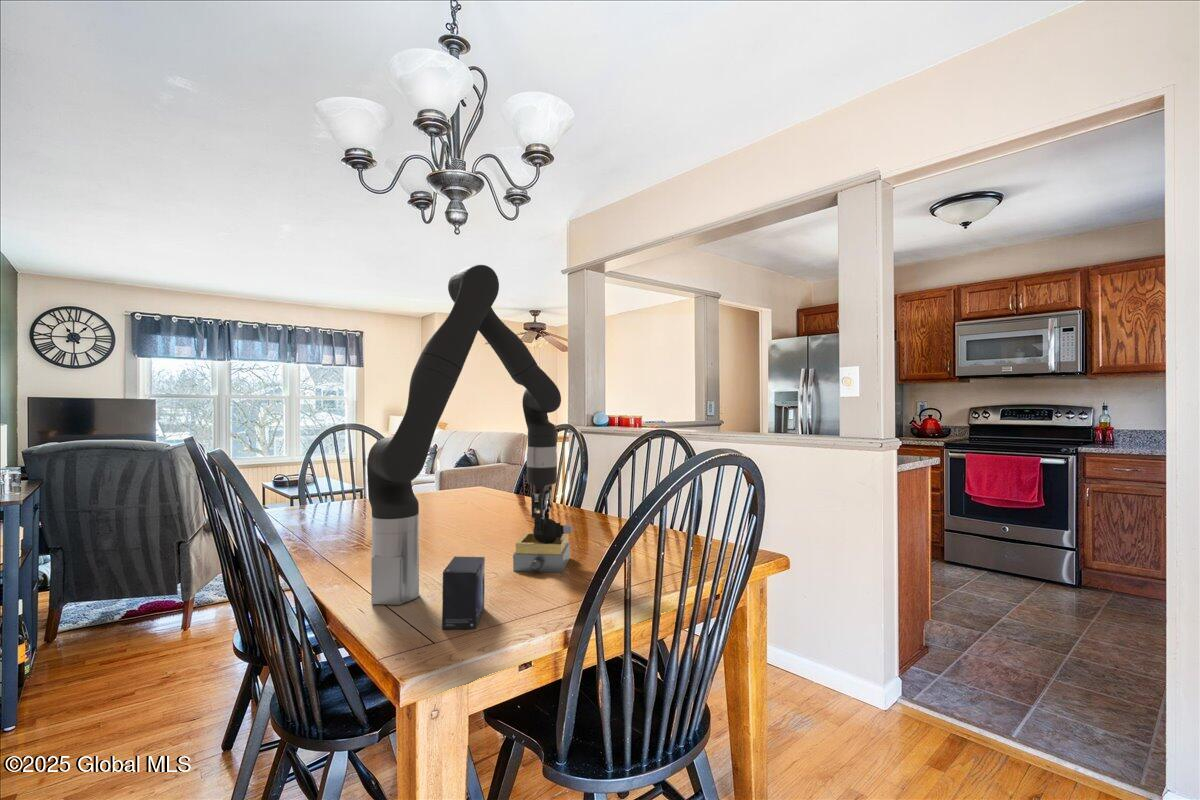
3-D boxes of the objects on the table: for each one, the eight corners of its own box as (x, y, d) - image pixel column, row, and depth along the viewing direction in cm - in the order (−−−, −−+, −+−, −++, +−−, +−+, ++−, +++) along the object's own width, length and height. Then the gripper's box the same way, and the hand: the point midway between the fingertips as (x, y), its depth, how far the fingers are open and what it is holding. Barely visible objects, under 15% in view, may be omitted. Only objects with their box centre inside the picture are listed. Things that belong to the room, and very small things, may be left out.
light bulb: (571, 514, 141) (531, 518, 141) (573, 541, 139) (532, 545, 139) (572, 516, 147) (533, 520, 147) (574, 542, 145) (535, 546, 145)
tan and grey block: (560, 576, 134) (560, 548, 134) (510, 574, 135) (510, 547, 135) (569, 558, 148) (569, 533, 148) (524, 557, 150) (524, 532, 150)
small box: (477, 629, 103) (477, 571, 103) (440, 630, 102) (440, 572, 102) (486, 608, 113) (486, 555, 113) (452, 609, 113) (452, 555, 113)
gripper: (551, 468, 136) (551, 538, 136) (561, 461, 150) (561, 525, 150) (520, 467, 136) (520, 537, 136) (532, 461, 150) (532, 524, 151)
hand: (541, 530), depth 143 cm, fingers open, 6 cm apart
